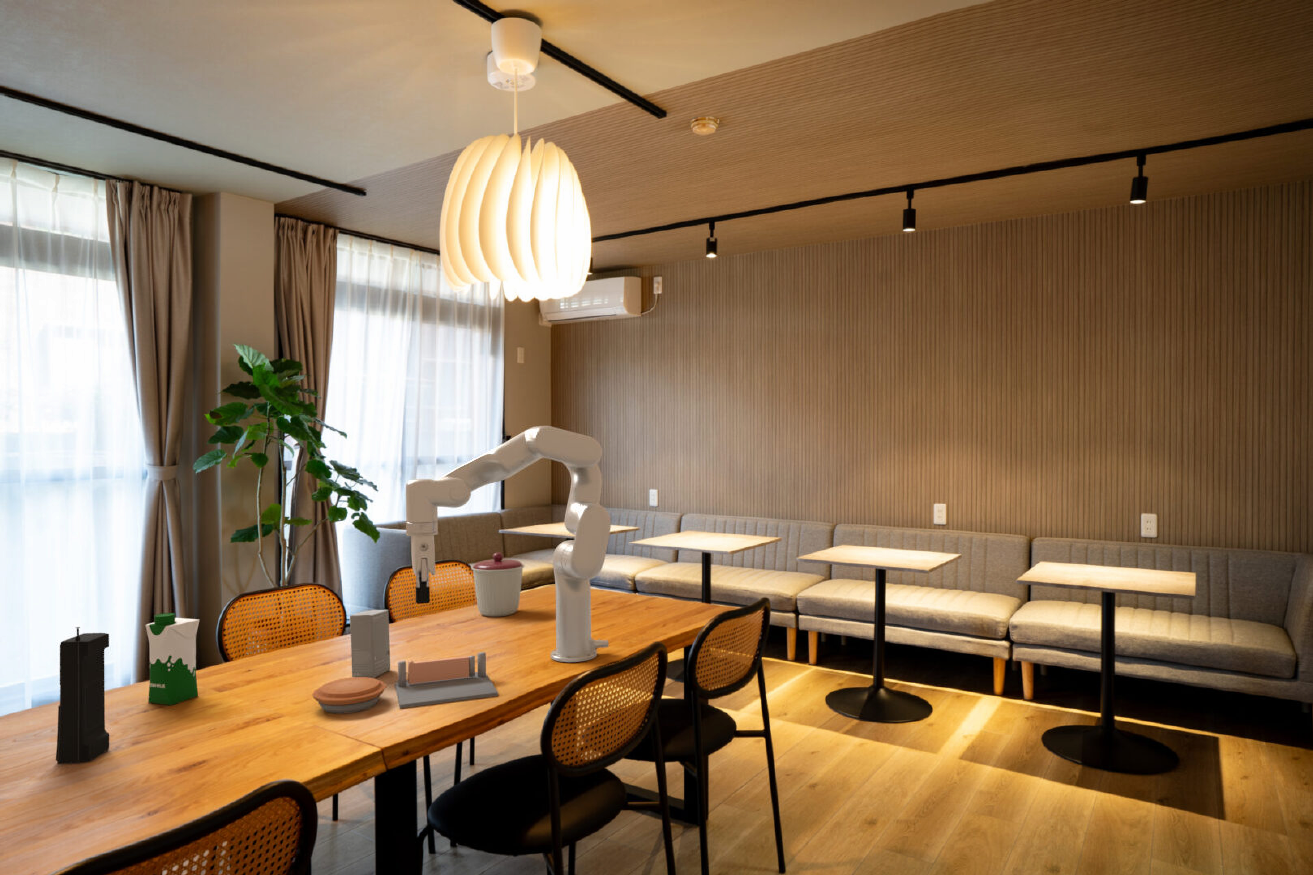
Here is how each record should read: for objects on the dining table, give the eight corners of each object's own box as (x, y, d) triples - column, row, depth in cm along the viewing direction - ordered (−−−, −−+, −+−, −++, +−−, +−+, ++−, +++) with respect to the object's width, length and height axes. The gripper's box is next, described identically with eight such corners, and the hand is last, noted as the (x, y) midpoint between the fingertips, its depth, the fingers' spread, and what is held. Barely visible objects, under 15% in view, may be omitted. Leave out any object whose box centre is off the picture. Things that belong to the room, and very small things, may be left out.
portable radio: (80, 748, 152) (80, 619, 152) (113, 746, 152) (112, 618, 153) (53, 764, 144) (52, 628, 144) (87, 763, 144) (87, 627, 145)
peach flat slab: (474, 674, 193) (474, 653, 194) (475, 676, 192) (475, 655, 192) (408, 682, 188) (407, 660, 188) (408, 684, 186) (408, 662, 186)
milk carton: (141, 703, 178) (140, 615, 179) (177, 691, 187) (176, 607, 187) (170, 707, 176) (169, 618, 176) (205, 694, 184) (204, 609, 184)
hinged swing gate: (484, 674, 198) (484, 648, 198) (497, 695, 181) (497, 667, 181) (395, 684, 190) (394, 658, 190) (399, 708, 173) (399, 678, 173)
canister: (463, 618, 262) (462, 556, 262) (483, 607, 280) (483, 548, 280) (514, 620, 259) (513, 556, 259) (532, 608, 277) (531, 549, 277)
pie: (315, 721, 165) (315, 698, 165) (310, 701, 179) (310, 679, 179) (391, 709, 172) (391, 687, 172) (381, 690, 186) (380, 669, 186)
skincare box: (374, 679, 195) (373, 615, 195) (348, 677, 196) (347, 614, 197) (392, 669, 203) (391, 608, 203) (367, 668, 205) (366, 607, 205)
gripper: (440, 531, 189) (441, 607, 189) (434, 525, 203) (435, 596, 203) (408, 532, 186) (409, 609, 186) (404, 526, 200) (404, 598, 200)
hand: (422, 602), depth 194 cm, fingers closed
